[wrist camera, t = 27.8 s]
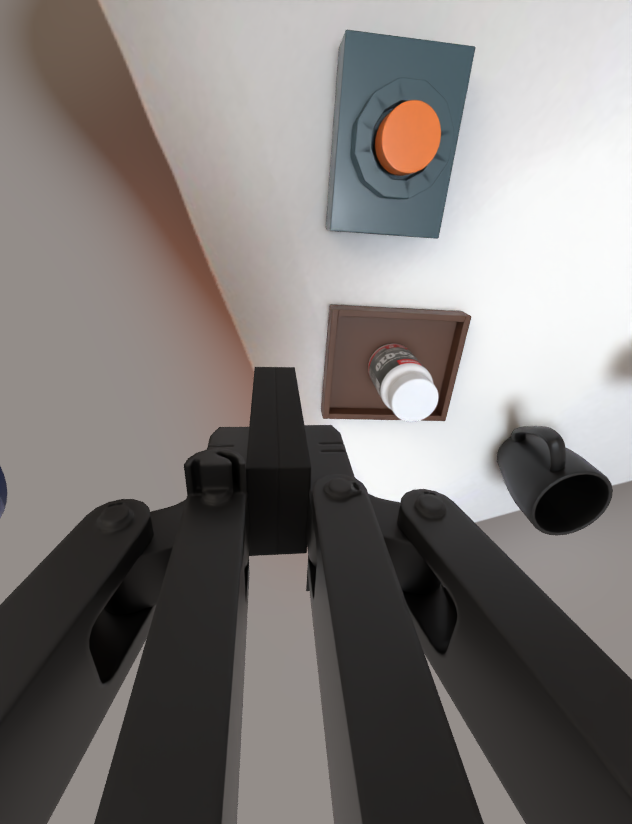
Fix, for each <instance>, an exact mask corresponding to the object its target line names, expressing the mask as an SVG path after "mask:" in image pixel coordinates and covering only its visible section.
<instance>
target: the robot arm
mask: <svg viewBox="0 0 632 824" xmlns="http://www.w3.org/2000/svg"><path fill="white" fill-rule="evenodd" d="M184 470H185V479H186V487H187V495H188V496H187V499H186V500H184V501H183V502H181V503H179V504H177V505H174V506H171V507H168V508H164V509H160V510H156V511H152V512H150V510H149V507H148V506H147V505H146V504H144V503H143V502H141V501H138V500H134V499H121V500H116V501H112V502H108V503H106V504H104V505H102V506H99V507H97V508H95V509H94V510H93V511H92V512H90V513H89V514H88V515H86V517H85V518H84V519H83V520H82V521H81V522H80V523H79V524H78V525H77V526H76V527H75V528H74V529H73V530H72V531H71V532H70V533H69V534H68V535H67V536H66V537H65V538H64V539H63V540H62V541H61V543H60V544H59V545H58V546H57V547H56V548H55V549H54V550H53V551H52V552H51V553H50V554H49V555H48V556H47V557H46V558H45V559H44V560H43V561H42V562H41V563H40V564H39V565H38V566H37V567H36V568H35V569H34V571H33V572H32V573H31V574H30V575H29V576H28V577H27V578H26V579H25V580H24V581H23V582H22V583H21V584H20V585H19V586H18V587H17V588H16V589H15V590H14V591H13V592H12V593H11V594H10V595H9V596H8V597H7V598H6V599H5V601H4V602H3V603H2V604H1V605H0V824H47V823H48V821H49V819H50V817H51V815H52V813H53V811H54V810H55V808H56V806H57V804H58V802H59V800H60V798H61V797H62V794H63V793H64V791H65V789H66V787H67V785H68V784H69V782H70V780H71V778H72V776H73V774H74V773H75V771H76V769H77V767H78V765H79V763H80V761H81V759H82V757H83V756H84V754H85V752H86V750H87V748H88V746H89V744H90V743H91V741H92V739H93V737H94V735H95V733H96V731H97V730H98V728H99V726H100V724H101V722H102V720H103V718H104V717H105V715H106V713H107V711H108V709H109V707H110V706H111V704H112V702H113V700H114V698H115V696H116V694H117V692H118V690H119V689H120V687H121V685H122V683H123V681H124V680H125V677H126V676H127V674H128V672H129V670H130V668H131V667H132V664H133V663H134V661H135V659H136V657H137V655H138V653H139V652H140V650H141V648H142V646H143V644H144V642H145V640H146V639H147V640H146V644H145V647H144V650H143V654H142V658H141V661H140V664H139V668H138V672H137V675H136V678H135V682H134V685H133V689H132V693H131V696H130V700H129V703H128V707H127V710H126V714H125V717H124V721H123V724H122V728H121V731H120V735H119V739H118V742H117V746H116V749H115V752H114V756H113V760H112V763H111V767H110V770H109V774H108V777H107V781H106V784H105V788H104V791H103V795H102V798H101V802H100V806H99V809H98V812H97V816H96V819H95V823H94V824H237V807H238V788H239V768H240V748H241V728H242V708H243V687H244V668H245V667H244V666H245V649H246V629H247V609H248V589H249V556H256V555H276V554H277V555H278V554H297V553H306V552H307V547H308V570H307V589H306V591H310V598H311V608H312V617H313V627H314V636H315V646H316V655H317V665H318V674H319V684H320V692H321V702H322V712H323V722H324V730H325V741H326V749H327V759H328V769H329V779H330V788H331V798H332V806H333V816H334V824H484V823H483V820H482V818H481V815H480V812H479V809H478V806H477V803H476V800H475V798H474V795H473V792H472V789H471V786H470V783H469V780H468V778H467V775H466V772H465V769H464V766H463V763H462V760H461V758H460V755H459V752H458V749H457V746H456V743H455V740H454V737H453V735H452V732H451V729H450V726H449V723H448V721H447V718H446V715H445V712H444V709H443V706H442V703H441V701H440V697H439V695H438V692H437V689H436V686H435V684H434V680H433V678H432V675H431V672H430V669H429V666H428V663H427V660H426V658H425V655H426V657H427V659H428V660H429V662H430V664H431V665H432V667H433V669H434V670H435V672H436V674H437V675H438V677H439V679H440V680H441V682H442V684H443V685H444V687H445V689H446V691H447V692H448V694H449V695H450V697H451V699H452V701H453V702H454V704H455V706H456V707H457V709H458V711H459V712H460V714H461V716H462V717H463V719H464V721H465V722H466V724H467V726H468V727H469V729H470V731H471V733H472V734H473V736H474V738H475V739H476V741H477V742H478V744H479V746H480V748H481V749H482V751H483V753H484V754H485V756H486V758H487V759H488V761H489V763H490V764H491V766H492V767H493V769H494V771H495V773H496V774H497V776H498V778H499V779H500V781H501V783H502V784H503V786H504V788H505V790H506V791H507V793H508V794H509V796H510V798H511V800H512V801H513V803H514V805H515V806H516V808H517V810H518V811H519V813H520V815H521V816H522V818H523V820H524V821H525V823H526V824H632V679H630V677H628V676H627V674H626V673H625V672H623V671H622V670H621V668H620V667H619V666H618V665H616V664H615V663H614V662H613V660H612V659H610V657H609V656H607V655H606V653H604V652H603V651H602V649H600V648H599V647H598V646H597V644H595V643H594V642H593V641H592V640H591V639H590V638H589V637H588V636H587V635H586V634H585V633H584V632H583V631H582V630H581V629H580V628H579V627H578V626H577V625H576V624H575V623H574V622H573V621H572V620H571V619H570V618H569V617H568V616H567V615H566V614H565V613H564V612H563V611H562V610H561V609H560V608H559V607H558V606H557V605H556V604H555V603H554V602H553V601H552V600H551V599H550V598H549V597H548V596H547V595H546V594H545V593H544V592H543V591H542V590H541V589H540V588H539V587H538V586H537V585H536V584H535V583H534V582H533V581H532V580H531V579H530V578H529V577H528V576H527V575H526V574H525V573H524V572H523V571H522V570H521V569H520V568H519V567H518V566H517V565H516V564H515V563H514V562H513V561H512V560H511V559H510V558H509V557H508V556H507V555H506V554H505V553H504V552H503V551H502V550H501V549H500V548H499V547H498V546H497V545H496V544H495V543H494V542H493V541H492V540H491V539H490V538H489V537H488V536H487V535H486V534H485V533H484V532H483V531H482V530H481V529H480V528H479V527H478V526H477V525H476V524H475V523H474V522H473V521H472V520H471V519H470V518H469V517H468V516H467V515H466V514H465V513H464V512H463V511H462V510H461V509H460V508H459V507H458V506H457V505H456V504H455V503H454V502H453V501H452V500H450V499H449V498H448V497H446V496H445V495H443V494H440V493H438V492H436V491H431V490H426V489H418V490H412V491H409V492H407V493H405V495H404V496H403V497H402V498H401V503H400V502H394V501H389V500H384V499H381V498H377V497H374V496H372V495H370V494H368V492H367V489H366V488H365V486H364V485H363V483H361V482H360V481H358V480H357V479H356V478H355V477H354V474H353V471H352V468H351V465H350V462H349V459H348V455H347V452H346V449H345V446H344V444H343V440H342V437H341V434H340V432H338V431H337V430H336V429H335V428H334V427H333V426H332V425H304V421H303V415H302V409H301V403H300V397H299V391H298V385H297V379H296V373H295V367H255V371H254V382H253V393H252V404H251V416H250V426H249V427H219V428H218V429H217V430H216V431H215V432H214V433H213V434H212V435H211V436H210V439H209V443H208V448H207V450H205V451H201V452H198V453H196V454H194V455H193V456H191V457H190V458H188V460H187V461H186V463H185V464H184ZM424 654H425V655H424Z"/></svg>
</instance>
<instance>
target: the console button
mask: <svg viewBox="0 0 632 824" xmlns="http://www.w3.org/2000/svg"><path fill="white" fill-rule="evenodd" d="M440 139H441V126H440V122H439V119H438V116H437V114H436V113H435V111H434V110H433V108H432V107H431V106H429V105H428V104H427V103H425V102H423V101H419V100H409V101H406V102H403V103H401V104H400V105H398V106H397V107H396V108H395V109H393V110H392V111H391V112H390V113H389V114H388V115H387V116H386V117H385V118H384V119H383V121H382V122H381V124H380V126H379V128H378V130H377V134H376V139H375V150H376V155H377V158H378V160H379V162H380V164H381V165H382V167H383V168H384V169H385V170H386V171H388V172H389V173H391V174H394V175H398V176H402V175H407V174H411V173H414V172H418V171H420V170H422V169H423V168H425V167H426V166H427V165H428V164H429V163H430V162H431V161H432V159H433V158H434V156H435V155H436V153H437V150H438V148H439V144H440Z"/></svg>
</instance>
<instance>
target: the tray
mask: <svg viewBox="0 0 632 824" xmlns="http://www.w3.org/2000/svg"><path fill="white" fill-rule="evenodd" d="M470 320H471V316H470V315H468V314H466V313H464V312H462V311H444V310H425V309H406V308H386V307H367V306H348V305H330V308H329V320H328V332H327V344H326V356H325V368H324V380H323V392H322V404H321V412H322V416H323V419H328V418H329V419H373V420H401V419H400V418H398V417H397V416H396V415H395V414H394V412H393V411H392V410H391V409H389V408H388V407H387V406H386V405H385V404H384V402H383V401H382V399H381V397H380V395H379V393H378V391H377V389H376V387H375V386H374V384H373V382H372V380H371V378H370V376H369V373H368V364H369V360H370V358H371V356H372V355H373V353H374V352H375V351H376V350H377V349H379V348H380V347H382V346H384V345H387V344H399V345H402V346H404V347H406V348H407V349H408V350H409V351H410V352H411V353H412V354H413V355H414V356H415V357H416V359H417V360H418V361H419V362H420V363H421V364H422V365H423V366H424V367H425V368H426V369H427V370H428V372H429V373H430V375H431V377H432V380H433V384H434V385H435V387H436V389H437V391H438V403H437V406H436V408H435V410H434V411H433V412H432V413H431V414H430V415H429V416H428V417H426V418H425V419H422V420H424V421H445V420H446V416H447V412H448V408H449V404H450V400H451V396H452V392H453V388H454V384H455V380H456V376H457V372H458V368H459V364H460V360H461V356H462V352H463V348H464V344H465V340H466V336H467V332H468V328H469V324H470Z"/></svg>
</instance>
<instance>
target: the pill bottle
mask: <svg viewBox="0 0 632 824" xmlns="http://www.w3.org/2000/svg"><path fill="white" fill-rule="evenodd" d="M368 373H369V376H370V378H371V380H372V382H373V384H374V386H375V387H376V389H377V391H378V393H379V395H380V397H381V399H382V401H383V402H384V404H385V405H386V406H387V407H388V408H389V409H391V410H392V411H393V412H394V414H395V415H396V416H397V417H398V418H400V419H401V420H403V421H407V422H416V421H420V420H422V419H425V418H426V417H428V416H429V415H430V414H431V413H432V412H433V411H434V410H435V408H436V406H437V403H438V391H437V389H436V387H435V385H434V384H433V380H432V377H431V375H430V373H429V372H428V370H427V369H426V368H425V367H424V366H423V365H422V364H421V363H420V362H419V361H418V360H417V359H416V357H415V356H414V355H413V354H412V353H411V352H410V351H409V350H408V349H407V348H406V347H404V346H402V345H399V344H387V345H384V346H382V347H380V348H379V349H377V350H376V351H375V352H374V353H373V355H372V356H371V358H370V360H369V364H368Z"/></svg>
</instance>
